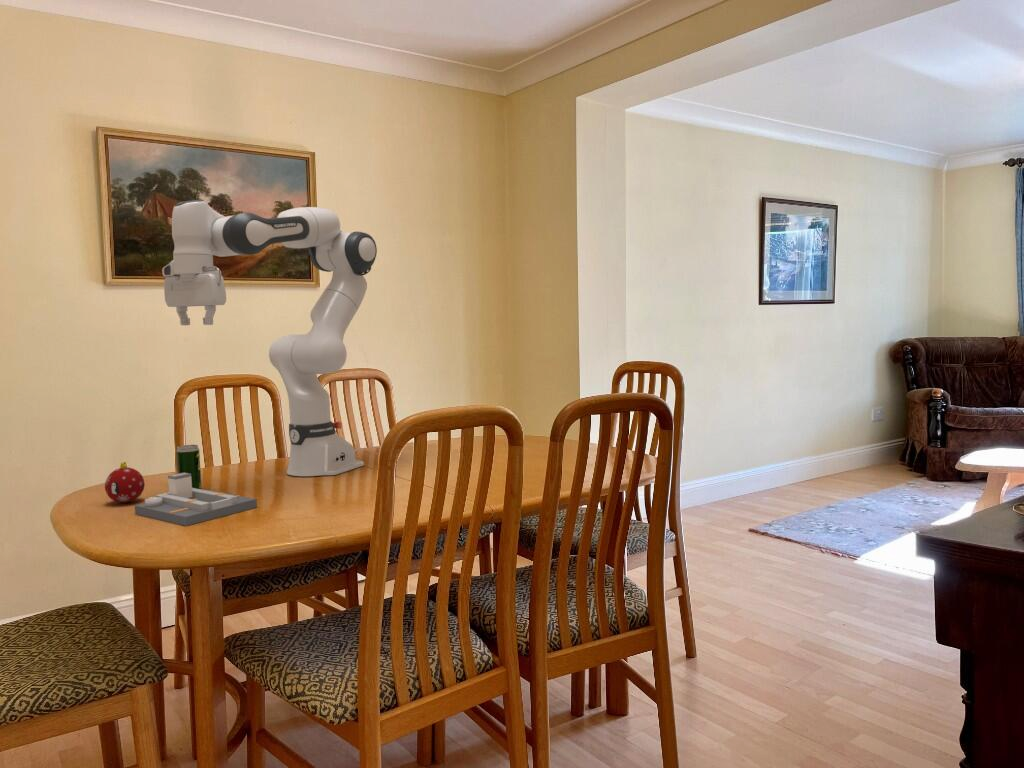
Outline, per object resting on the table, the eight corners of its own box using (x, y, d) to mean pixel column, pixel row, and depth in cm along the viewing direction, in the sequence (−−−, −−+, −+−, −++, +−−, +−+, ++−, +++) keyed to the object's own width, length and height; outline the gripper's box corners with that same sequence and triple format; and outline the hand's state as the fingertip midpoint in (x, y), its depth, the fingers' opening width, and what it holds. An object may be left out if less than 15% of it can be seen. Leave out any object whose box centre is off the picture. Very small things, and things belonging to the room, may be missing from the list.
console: (205, 497, 188) (204, 482, 188) (257, 507, 177) (256, 491, 177) (135, 514, 174) (134, 498, 173) (186, 526, 162) (185, 509, 162)
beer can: (181, 496, 190) (178, 448, 189) (177, 492, 194) (174, 446, 193) (204, 493, 193) (201, 446, 192) (199, 489, 197) (196, 443, 196)
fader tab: (185, 495, 181) (183, 472, 180) (192, 497, 179) (191, 473, 179) (169, 499, 178) (167, 475, 177) (176, 500, 176) (175, 476, 175)
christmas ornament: (153, 498, 189) (150, 458, 188) (130, 507, 180) (127, 465, 179) (121, 498, 190) (118, 458, 189) (97, 506, 181) (94, 465, 180)
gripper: (231, 266, 181) (234, 324, 182) (181, 270, 192) (184, 325, 193) (207, 264, 176) (210, 324, 177) (158, 269, 187) (161, 325, 188)
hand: (196, 325), depth 185 cm, fingers open, 8 cm apart
